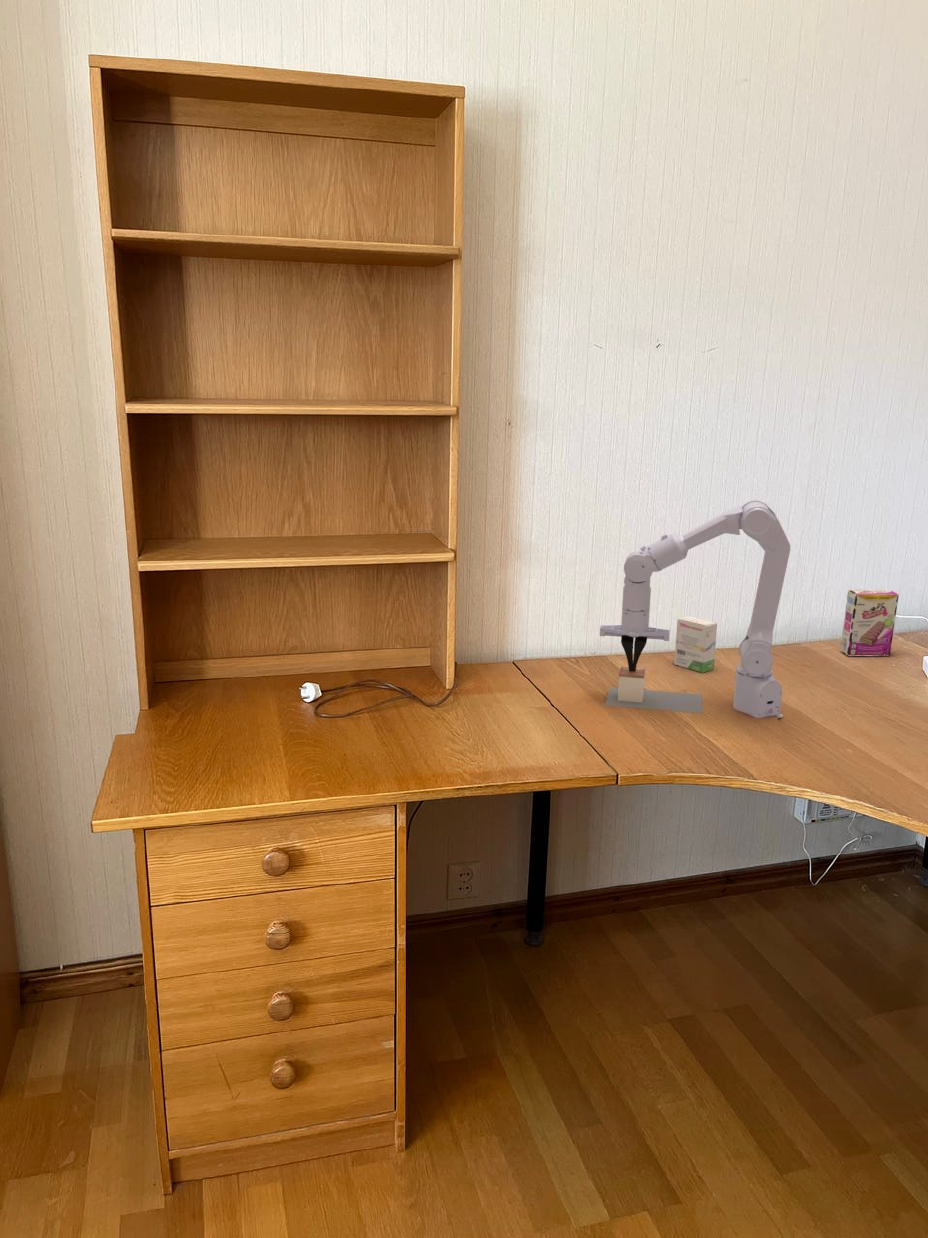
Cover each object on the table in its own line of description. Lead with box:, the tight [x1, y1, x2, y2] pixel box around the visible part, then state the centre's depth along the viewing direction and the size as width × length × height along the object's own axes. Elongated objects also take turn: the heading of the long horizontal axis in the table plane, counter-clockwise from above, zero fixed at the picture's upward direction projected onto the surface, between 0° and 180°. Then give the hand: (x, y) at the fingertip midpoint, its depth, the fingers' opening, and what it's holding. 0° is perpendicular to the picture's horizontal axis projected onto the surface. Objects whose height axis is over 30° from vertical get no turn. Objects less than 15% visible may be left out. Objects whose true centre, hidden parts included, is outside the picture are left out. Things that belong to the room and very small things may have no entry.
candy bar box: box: [840, 589, 900, 656], centre depth 243 cm, size 11×5×16 cm, turn 94°
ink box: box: [674, 615, 718, 674], centre depth 232 cm, size 8×5×12 cm, turn 40°
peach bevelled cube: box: [617, 666, 646, 703], centre depth 208 cm, size 5×5×6 cm
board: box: [605, 686, 703, 714], centre depth 208 cm, size 20×12×1 cm, turn 77°
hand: (632, 670), depth 207 cm, fingers closed
